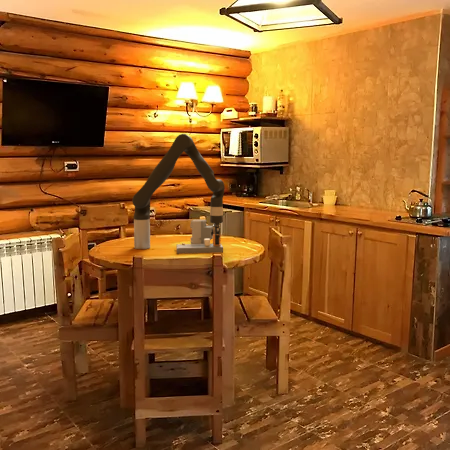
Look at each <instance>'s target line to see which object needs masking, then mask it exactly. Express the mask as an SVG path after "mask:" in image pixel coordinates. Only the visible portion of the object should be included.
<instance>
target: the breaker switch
mask: <svg viewBox="0 0 450 450" xmlns="http://www.w3.org/2000/svg"><path fill="white" fill-rule="evenodd" d="M210 244H211V240H210V239H209V238H208V239H204V245H205V246H210Z"/></svg>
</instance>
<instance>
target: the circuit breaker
mask: <svg viewBox="0 0 450 450" xmlns="http://www.w3.org/2000/svg"><path fill="white" fill-rule="evenodd" d="M189 226H190V229H191V237H190V244H204V239H208V238H209V239H210V241H211V240H213V234H214V233H213V225H207V219H192V220H190V225H189Z"/></svg>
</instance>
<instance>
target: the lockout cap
mask: <svg viewBox="0 0 450 450" xmlns="http://www.w3.org/2000/svg"><path fill="white" fill-rule="evenodd" d="M216 235H218V234H216ZM221 240H222V237H221V234H220V238H219V245H216V244H215V234H213V238H212V244H213V245H214V246H220V243H222V242H221Z"/></svg>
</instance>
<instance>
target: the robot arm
mask: <svg viewBox="0 0 450 450" xmlns="http://www.w3.org/2000/svg"><path fill="white" fill-rule="evenodd" d="M183 153H185V154H186V155H187V156H188V157H189V158H190V160H191V161H192V163H193V165H194V166H195V169H196V170H197V171H198V173H199V174H200V176H201V177H202V178H203V180H204V183H205V184H206V186H207V188H208V189H209V191H211V192H212V195H211V197H210V209H209V220H210V221H209V223H212V224H213V225H212V226H213V233H214V234H215V244H216V245H219V238H220V235H221V225H220V224H223V223H224V208H223V206H224V203H223V202H224V200H223V199H224V193H225V189H226V188H225V183H224V181H223V180H222V179H217V178H216V177H215V172H214V170H213V169H212V167H211V166H210V165H209V164H208V162H207V161H206V160H205V158H204V157H203V156H202V155H201V153H200V151H199V149H198V148H197V146H196V144H195V142H194V140H193V138H192V137H191V136H189V135H187V134H186V133H181V134H178V135H177V136H176V137H175V139H174V141H173V143H172V145H171V146H170V147H169V149H168V151H167V152H166V153H165V154H164V155H163V157H162V158H161V160H160V161H159V162H158V163H157V165H156V166H155V167H154V168H153V170H152V172H151V173H150V175H149V176H148V178H147V180H146V181H145V183H144V184H143V185H142V186H141V187H140V189H139V190H138V191H137V192H136V193H135V194H134V195H133V197H132V199H131V201H132V205H133V206H134V213H133V240H134V241H133V243H134V244H133V247H134V249H136V250H137V249H139V250H146V249H150V248H151V224H150V223H151V220H150V216H151V198H152V196H153V194H154V193H155V192H156V191H157V189H158V188H160V187H161V186H162V185H163V184H164V183H165V182H166V181H167V179H168V178H169V177H170V176H171V174H172V172H173V171H174V169H175V166H176V164H177V162H178V159H179V158H180V156H182V154H183ZM216 234H218V235H216Z"/></svg>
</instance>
